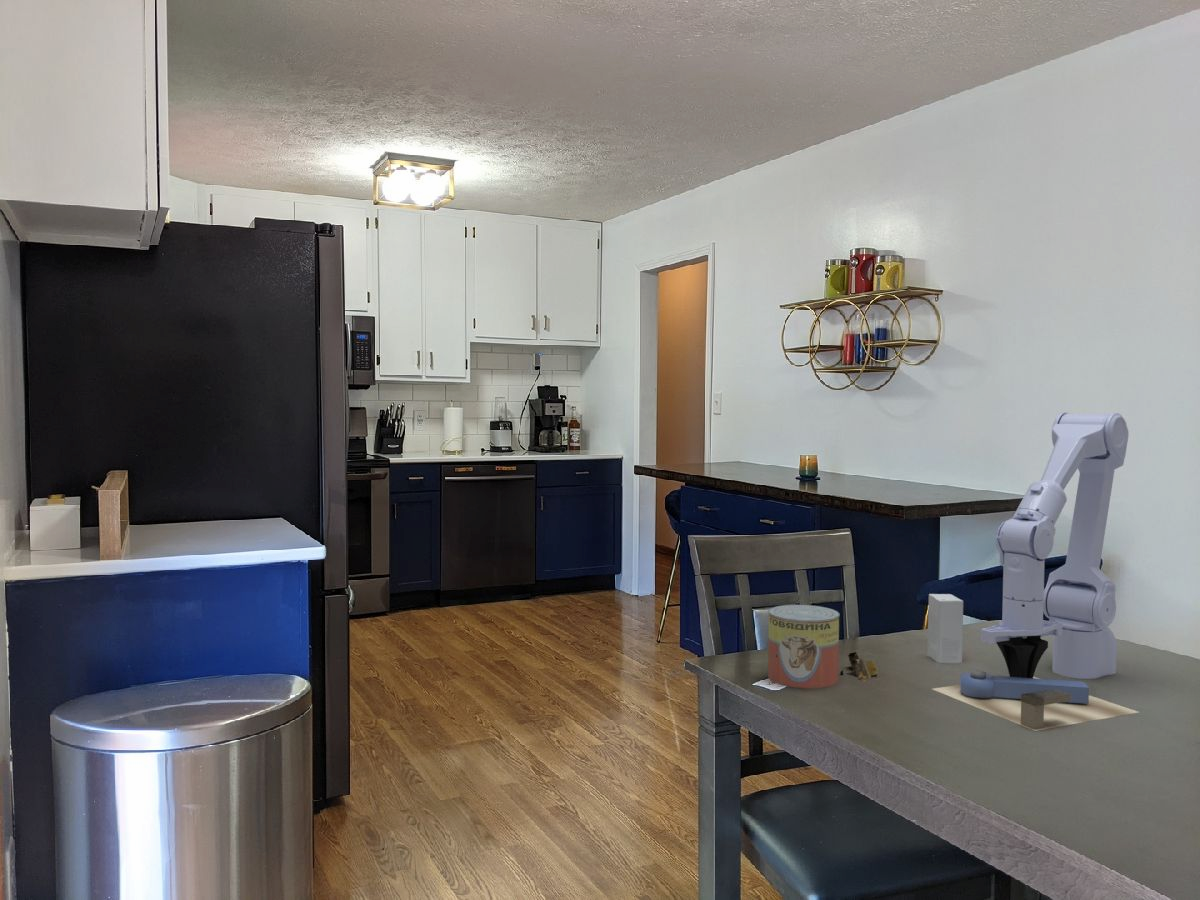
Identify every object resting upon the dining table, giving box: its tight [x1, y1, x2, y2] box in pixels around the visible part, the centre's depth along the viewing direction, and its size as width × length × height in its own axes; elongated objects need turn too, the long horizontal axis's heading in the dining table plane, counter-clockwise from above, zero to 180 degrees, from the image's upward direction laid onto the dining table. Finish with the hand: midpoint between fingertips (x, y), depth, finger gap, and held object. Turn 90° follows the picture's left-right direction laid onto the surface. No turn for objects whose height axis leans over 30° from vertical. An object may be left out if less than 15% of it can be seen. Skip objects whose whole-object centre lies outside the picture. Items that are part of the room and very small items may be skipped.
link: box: [959, 669, 1090, 704], centre depth 140 cm, size 18×5×3 cm, turn 75°
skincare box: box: [926, 593, 964, 664], centre depth 162 cm, size 6×4×12 cm
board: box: [931, 676, 1140, 732], centre depth 139 cm, size 20×20×1 cm
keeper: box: [1020, 689, 1071, 731], centre depth 129 cm, size 6×2×5 cm, turn 112°
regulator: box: [839, 651, 879, 683], centre depth 151 cm, size 8×4×15 cm
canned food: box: [767, 604, 841, 689], centre depth 150 cm, size 11×11×12 cm
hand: (1020, 684), depth 143 cm, fingers closed
